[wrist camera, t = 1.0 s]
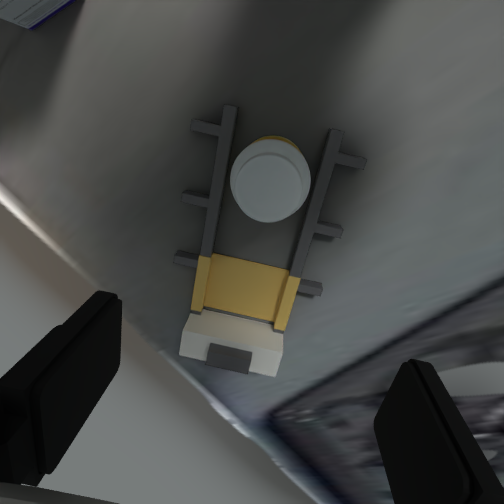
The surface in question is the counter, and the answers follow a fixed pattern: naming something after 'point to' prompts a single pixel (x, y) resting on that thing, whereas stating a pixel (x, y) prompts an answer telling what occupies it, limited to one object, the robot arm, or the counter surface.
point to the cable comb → (249, 270)
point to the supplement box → (31, 11)
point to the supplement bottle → (270, 179)
